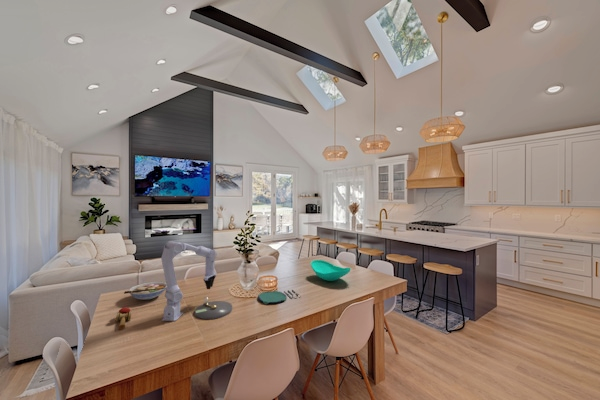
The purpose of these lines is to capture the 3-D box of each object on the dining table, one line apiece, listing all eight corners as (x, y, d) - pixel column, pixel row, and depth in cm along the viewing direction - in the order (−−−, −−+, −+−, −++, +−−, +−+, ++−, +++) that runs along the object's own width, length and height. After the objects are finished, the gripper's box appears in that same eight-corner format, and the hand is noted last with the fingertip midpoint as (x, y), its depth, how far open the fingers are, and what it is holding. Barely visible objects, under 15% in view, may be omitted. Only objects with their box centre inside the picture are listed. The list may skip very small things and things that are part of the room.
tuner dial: (226, 319, 142) (226, 316, 142) (188, 319, 141) (188, 316, 141) (235, 303, 164) (235, 301, 164) (202, 303, 163) (202, 300, 163)
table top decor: (302, 277, 221) (303, 262, 221) (323, 271, 240) (323, 258, 240) (337, 289, 192) (337, 273, 192) (357, 282, 211) (358, 267, 211)
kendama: (132, 329, 132) (133, 311, 147) (129, 319, 130) (131, 302, 145) (114, 336, 128) (118, 317, 143) (111, 325, 126) (115, 307, 141)
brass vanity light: (217, 307, 153) (217, 299, 153) (213, 309, 150) (213, 301, 150) (205, 303, 159) (205, 296, 159) (201, 305, 156) (201, 297, 156)
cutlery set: (254, 296, 177) (254, 292, 177) (292, 290, 191) (292, 287, 191) (262, 307, 160) (263, 303, 160) (303, 300, 173) (304, 297, 173)
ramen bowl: (170, 290, 185) (170, 279, 185) (167, 302, 164) (167, 289, 164) (131, 294, 175) (131, 282, 175) (122, 307, 154) (122, 294, 154)
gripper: (212, 270, 156) (211, 292, 156) (219, 264, 170) (219, 284, 170) (201, 270, 156) (200, 291, 156) (209, 264, 170) (208, 283, 170)
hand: (209, 287), depth 163 cm, fingers open, 4 cm apart
